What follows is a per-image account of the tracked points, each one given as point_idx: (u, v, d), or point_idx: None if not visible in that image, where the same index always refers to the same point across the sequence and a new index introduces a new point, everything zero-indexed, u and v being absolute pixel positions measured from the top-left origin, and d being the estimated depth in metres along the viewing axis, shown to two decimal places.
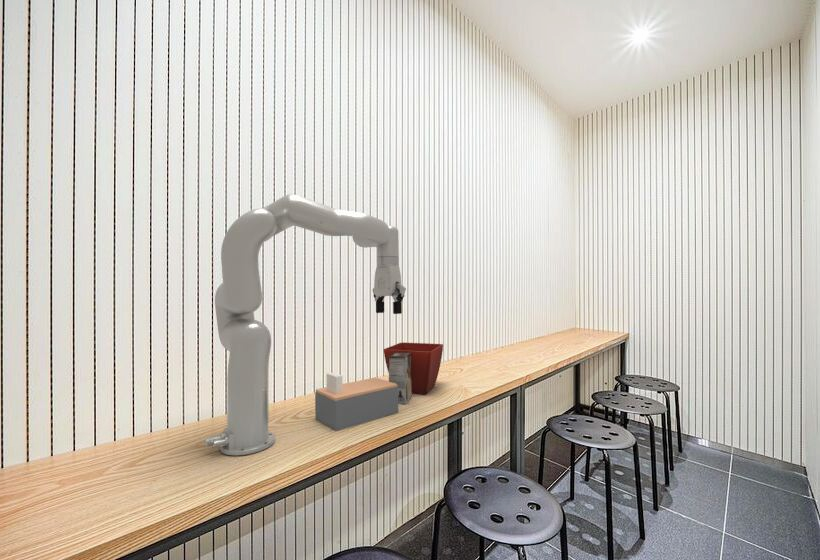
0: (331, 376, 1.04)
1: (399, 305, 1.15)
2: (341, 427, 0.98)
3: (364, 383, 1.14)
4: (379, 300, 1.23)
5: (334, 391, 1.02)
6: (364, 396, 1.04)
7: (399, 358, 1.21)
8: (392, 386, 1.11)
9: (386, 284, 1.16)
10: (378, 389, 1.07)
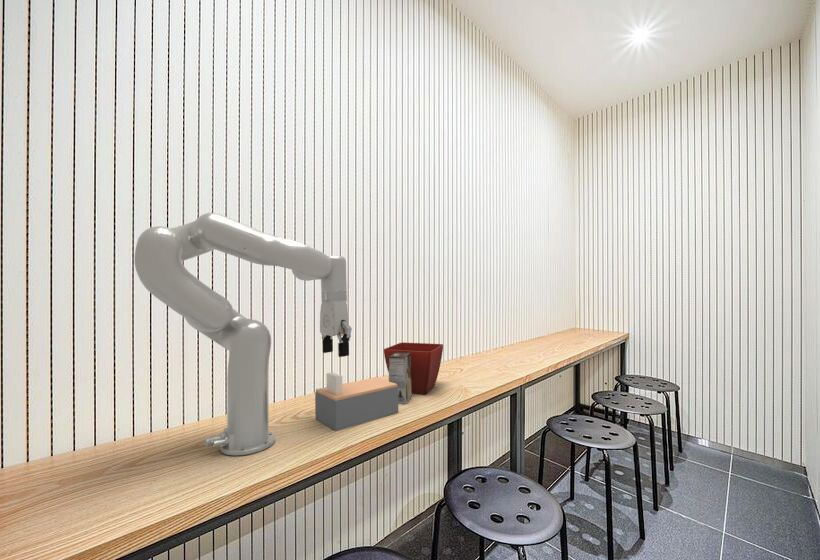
0: (331, 376, 1.04)
1: (345, 347, 1.01)
2: (341, 427, 0.98)
3: (364, 383, 1.14)
4: (326, 338, 1.09)
5: (334, 391, 1.02)
6: (364, 396, 1.04)
7: (399, 358, 1.21)
8: (392, 386, 1.11)
9: (330, 323, 1.02)
10: (378, 389, 1.07)
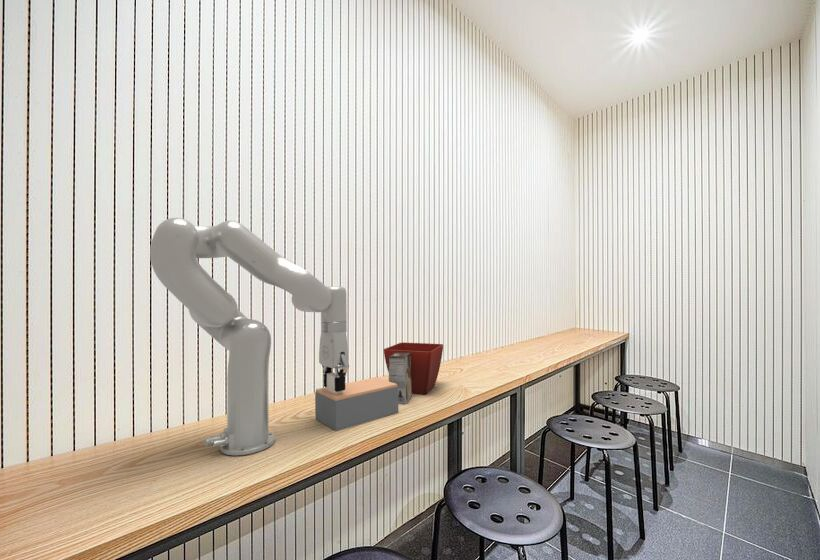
0: (331, 376, 1.04)
1: (342, 381, 1.01)
2: (341, 427, 0.98)
3: (364, 383, 1.14)
4: (328, 371, 1.07)
5: (334, 391, 1.02)
6: (364, 396, 1.04)
7: (399, 358, 1.21)
8: (392, 386, 1.11)
9: (330, 354, 1.01)
10: (378, 389, 1.07)
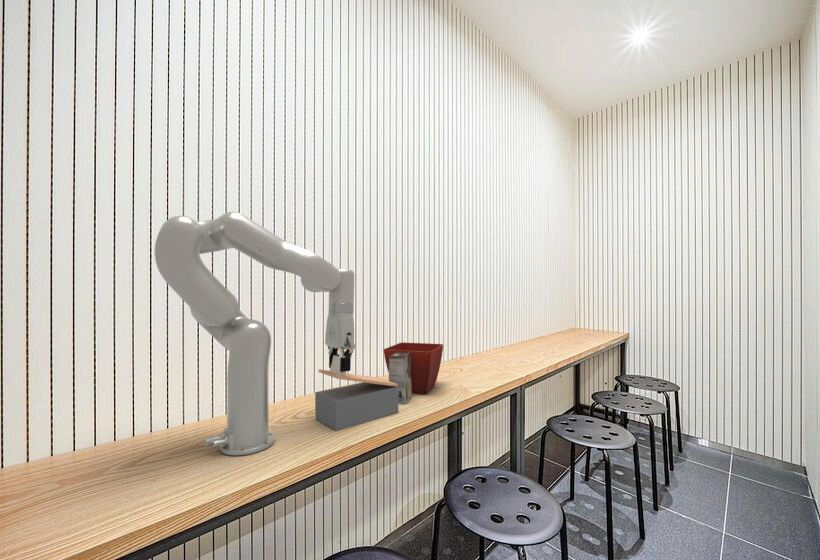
0: (338, 357, 1.06)
1: (347, 362, 1.03)
2: (341, 427, 0.98)
3: (365, 377, 1.14)
4: (333, 352, 1.08)
5: (337, 372, 1.03)
6: (364, 396, 1.04)
7: (399, 358, 1.21)
8: (393, 384, 1.11)
9: (336, 335, 1.03)
10: (379, 382, 1.08)
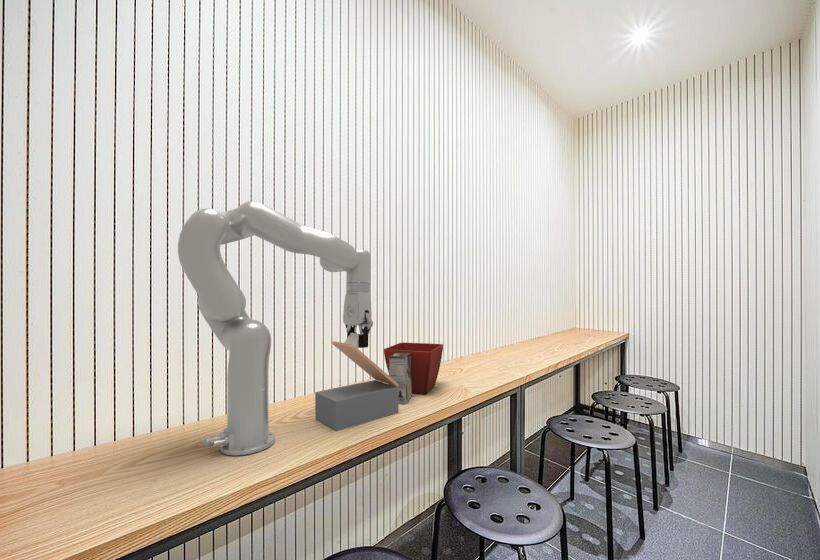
0: (355, 334, 1.10)
1: (365, 338, 1.07)
2: (341, 427, 0.98)
3: None
4: (351, 330, 1.13)
5: None
6: (364, 396, 1.04)
7: (399, 358, 1.21)
8: (394, 382, 1.11)
9: (354, 313, 1.07)
10: (384, 372, 1.09)
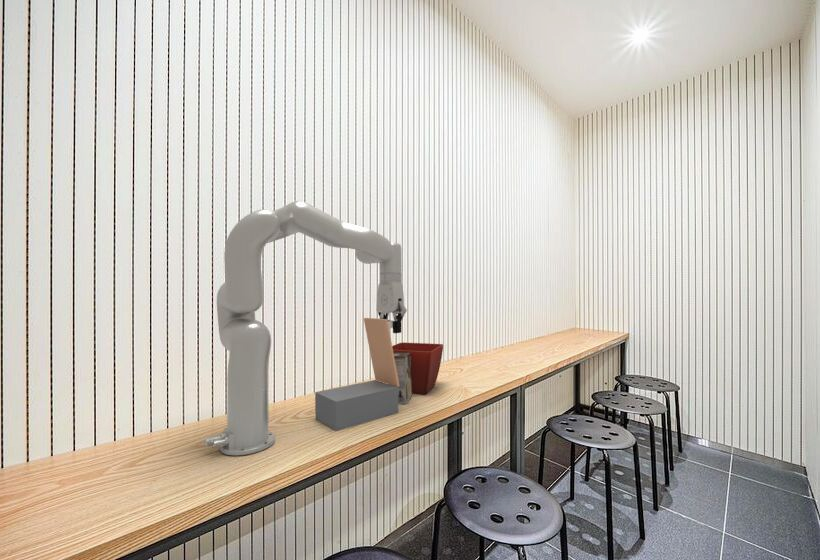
0: (388, 320, 1.18)
1: (399, 324, 1.16)
2: (341, 427, 0.98)
3: None
4: (384, 318, 1.21)
5: None
6: (364, 396, 1.04)
7: (399, 358, 1.21)
8: (397, 380, 1.12)
9: (389, 301, 1.16)
10: (394, 364, 1.12)
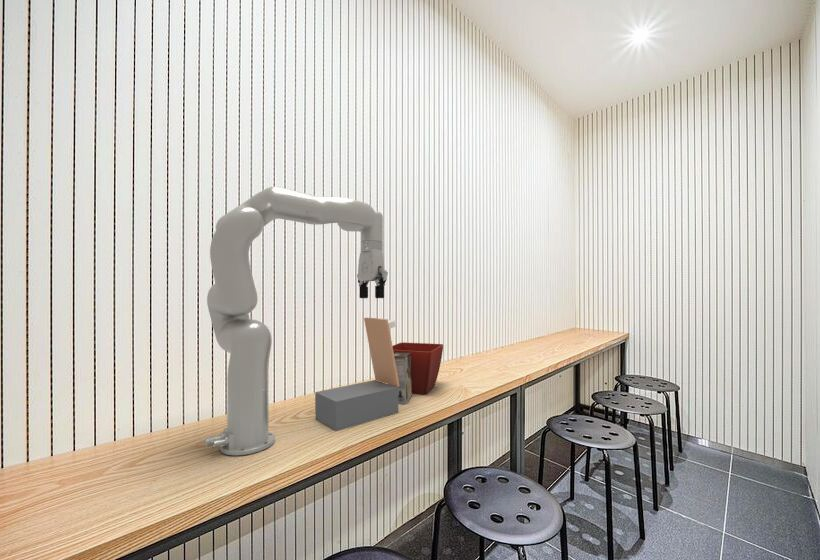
0: (388, 320, 1.18)
1: (381, 289, 1.15)
2: (341, 427, 0.98)
3: None
4: (363, 285, 1.22)
5: None
6: (364, 396, 1.04)
7: (399, 358, 1.21)
8: (397, 380, 1.12)
9: (369, 268, 1.16)
10: (394, 364, 1.12)
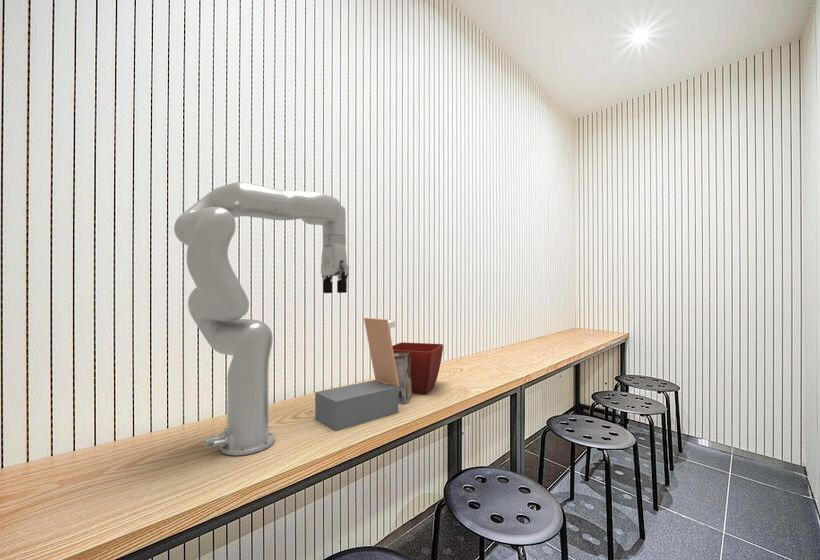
0: (388, 320, 1.18)
1: (343, 284, 1.13)
2: (341, 427, 0.98)
3: None
4: (327, 280, 1.21)
5: None
6: (364, 396, 1.04)
7: (399, 358, 1.21)
8: (397, 380, 1.12)
9: (330, 263, 1.14)
10: (394, 364, 1.12)
